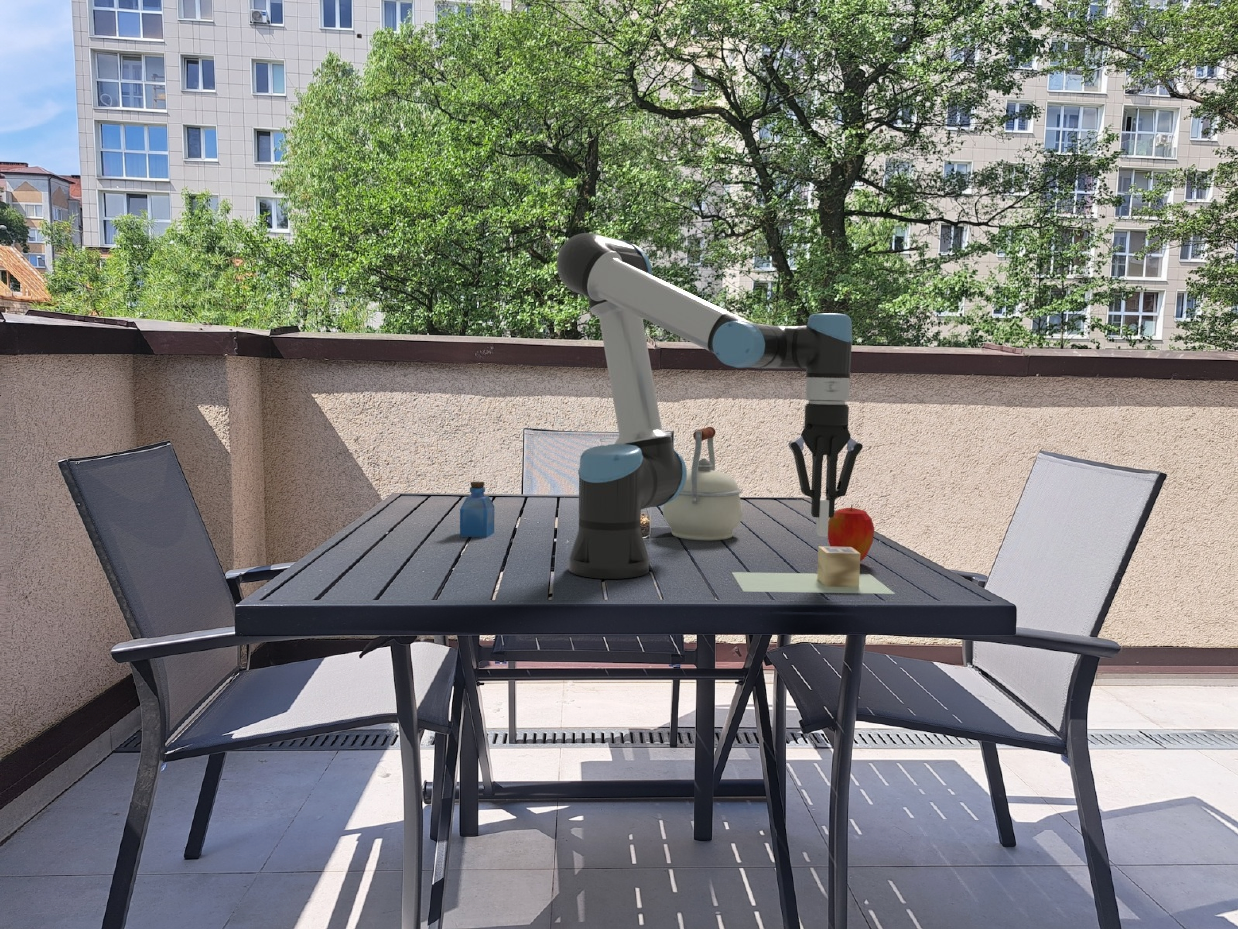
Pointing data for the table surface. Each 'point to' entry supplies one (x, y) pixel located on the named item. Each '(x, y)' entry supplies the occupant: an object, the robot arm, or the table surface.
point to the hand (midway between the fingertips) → (821, 535)
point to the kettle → (705, 499)
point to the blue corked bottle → (477, 513)
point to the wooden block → (838, 566)
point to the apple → (851, 530)
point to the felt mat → (803, 583)
